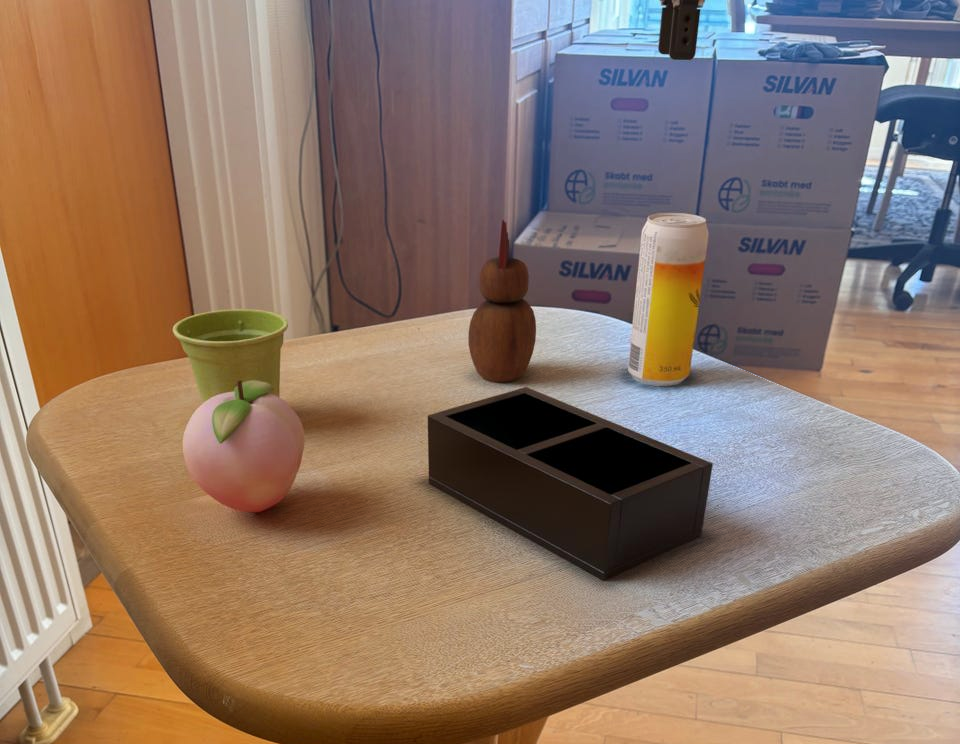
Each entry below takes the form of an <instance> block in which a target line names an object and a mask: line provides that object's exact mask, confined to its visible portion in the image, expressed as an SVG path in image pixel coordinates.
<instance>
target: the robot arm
mask: <svg viewBox="0 0 960 744" xmlns="http://www.w3.org/2000/svg"><path fill="white" fill-rule="evenodd" d="M659 2H660V6H662V7H661V14H660V24H659V26H660V27H659V36H658V46H657V49H658V53H660V54H661V55H668V56H669V58H670V59H671V60H673V61H691V60H693V59H694V58H695V56H696V52H697V43H698V36H699V35H698V34H699V25H700V18H701V17H700V16H701V9H702V8H703V7H704V4H705V3H706V0H659Z"/></svg>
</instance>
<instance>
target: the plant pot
mask: <svg viewBox="0 0 960 744" xmlns="http://www.w3.org/2000/svg"><path fill="white" fill-rule="evenodd" d="M288 325H289V322H288V319H287V318H286V317H284V316H283V315H281V314H278V313H276V312H273V311H267V310H262V309H254V308H253V309H249V308H235V309H220V310H219V309H217V310H212V311H208V312H207V311H205V312H201V313H197V314H194V315H190V316H188V317H185V318H183V319H181V320H179V321H178V322H176V323H175V324H174V325H173V327H172V333H173V335H174V338H177V339H178V340H179V342H180V345H181V346H182V349H183V351H184V353H185V354H186V355H187V357H188V360H189V363H190V366H191V367H190V368H191V370H192V373H193V376H194V380H195V383H196V385H197V389H198V393H199V395H200V399H201V402H202V404H203V403H204V402H205V401H207V400H208V399H210V398H212V397H214V396H216V395H219V394H223V393H227V392H232V391H234V388H235V387H236V386H237V380H241V381H242V383H243V382H246V381H253V380H255V381H262V382H265V383H268V384H270V385H272V386H273V387H274V390H272V391H270V392H269V393H271V394H274V395H276V396H278V397H279V398H280V385H281V383H280V382H281V381H280V380H281V352H282V351H281V350H282V346H283V345H284V336H285V335H284V334H285V332H286V331H287V330H288V327H289V326H288Z"/></svg>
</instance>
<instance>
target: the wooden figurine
mask: <svg viewBox="0 0 960 744" xmlns="http://www.w3.org/2000/svg"><path fill="white" fill-rule="evenodd" d="M507 226H508V225H507V221H505V219H501V228H500V240H499V252H498V257H493V258H489V259H487V260H486V261H485V262H484V264H483V265H482V266H481V270H480V274H479V281H478V284H479V285H478V287H479V291H480V295H481V296H482V297H483V298H484V300H483V301H481V303H480V304H479V305H478V306H477V307H476V309H475V310H474V311H473V313H472V316H471V319H470V322H469V328H468V338H467V339H468V342H467V343H468V349H469V354H470V358H471V361H472V365H473V366H474V368H475V370H476V373H477V374H478V375H479V376H480V377H481V378H482V379H483V380H486V381H488V382H493V383H508V382H513V381H516V380H518V379H520V378H521V377H522V376H523V375H524V374H525V373H526V372H527V369H528V367H529V365H530V362H531V359H532V356H533V354H534V349H535V344H536V337H537V322H536V321H537V319H536V316H535V312H534V309H533V308H532V307H531V305H530V303H529V302H528V301H527V300H526V299H524V298H525V297H526V295H527V293H528V292H529V291H528V290H529V278H530V277H529V276H530V275H529V269H528V267H527V265H526V263H525V262H524V261H522V260H520V259H518V258H515V257H511V252H510V251H511V250H510V248H511V247H510V239H509V232H508V229H507V228H508V227H507Z"/></svg>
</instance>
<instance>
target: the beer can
mask: <svg viewBox="0 0 960 744" xmlns="http://www.w3.org/2000/svg"><path fill="white" fill-rule="evenodd" d="M646 219H647V220H646V222H645V223H644V225H643V227H642V229H641V236H640V246H639V255H638V266H637V274H636V284H635V285H636V286H635V293H634V294H635V295H634V296H635V298H634V305H633V314H632V325H631V334H630V335H631V336H630V346H629V355H628V365H627V371H628V373H629V374H630V375H631V376H632V379H633V380H634V381H636V382H638V383H640V384H644V385H648V386H654V387H670V386H672V387H673V386H677V385H679V384H681V383H683V381H684V380H686V379H687V378H688V377H689V375H690V372H691V365H692V358H693V351H694V346H695V345H694V344H695V338H696V337H695V336H696V329H697V324H698V323H697V322H698V315H699V308H700V301H701V294H702V286H703V280H704V279H703V278H704V272H705V264H706V258H707V251H708V244H709V237H710V236H709V235H710V232H709V230H708V226H707V219H706V218H705V217H703V216H700V215H696V214H691V213H682V212H660V213H654V214H653V213H652V214H650V215H648V216H647V218H646Z"/></svg>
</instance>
